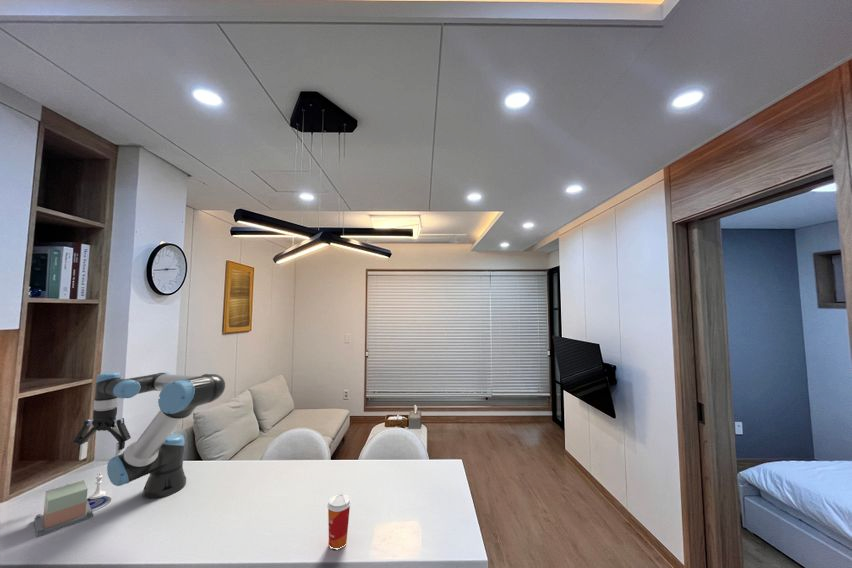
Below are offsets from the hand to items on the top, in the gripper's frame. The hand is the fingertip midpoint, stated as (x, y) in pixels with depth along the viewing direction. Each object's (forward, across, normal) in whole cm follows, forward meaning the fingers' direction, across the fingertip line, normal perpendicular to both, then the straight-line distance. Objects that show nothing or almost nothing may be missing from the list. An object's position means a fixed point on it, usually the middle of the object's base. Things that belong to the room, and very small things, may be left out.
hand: (100, 458), depth 139 cm
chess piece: (+16, 0, 0) cm, 16 cm away
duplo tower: (+16, 0, +15) cm, 22 cm away
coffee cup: (+15, -106, +43) cm, 115 cm away
